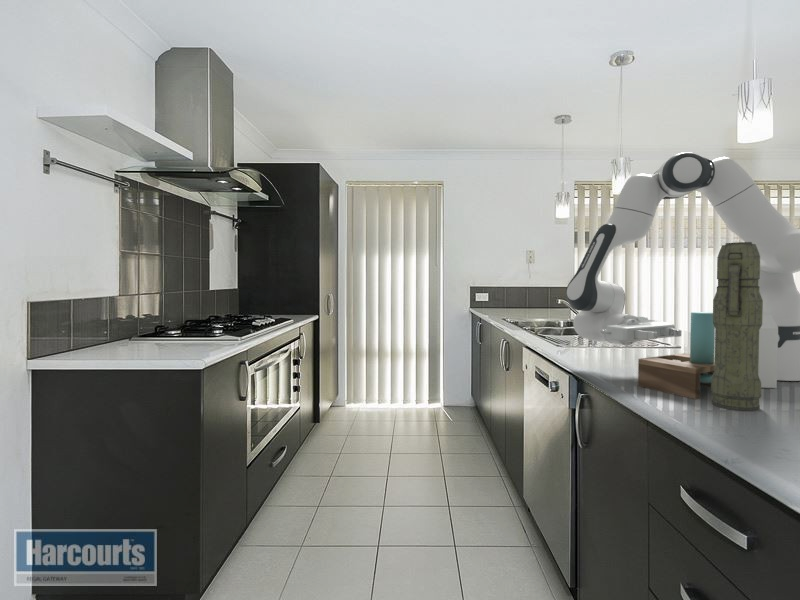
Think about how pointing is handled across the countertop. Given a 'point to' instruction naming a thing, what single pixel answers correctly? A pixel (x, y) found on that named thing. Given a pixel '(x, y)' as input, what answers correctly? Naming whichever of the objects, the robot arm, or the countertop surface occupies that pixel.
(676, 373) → the keyhole bridge
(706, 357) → the teal necked cylinder
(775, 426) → the countertop surface
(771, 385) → the milk carton
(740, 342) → the thermos
